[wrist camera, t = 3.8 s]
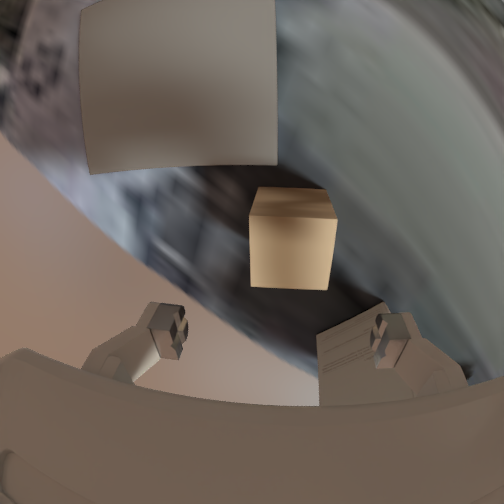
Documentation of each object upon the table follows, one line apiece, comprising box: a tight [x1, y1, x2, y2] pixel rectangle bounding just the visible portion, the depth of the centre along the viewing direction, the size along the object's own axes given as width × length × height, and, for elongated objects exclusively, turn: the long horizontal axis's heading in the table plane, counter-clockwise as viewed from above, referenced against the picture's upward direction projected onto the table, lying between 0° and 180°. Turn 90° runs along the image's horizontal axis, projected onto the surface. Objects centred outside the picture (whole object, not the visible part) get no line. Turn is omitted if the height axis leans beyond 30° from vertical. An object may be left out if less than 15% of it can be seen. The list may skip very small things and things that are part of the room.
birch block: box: [249, 187, 337, 290], centre depth 17 cm, size 4×4×5 cm
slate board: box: [79, 0, 278, 175], centre depth 14 cm, size 14×14×1 cm
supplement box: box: [316, 302, 416, 406], centre depth 19 cm, size 7×7×13 cm
